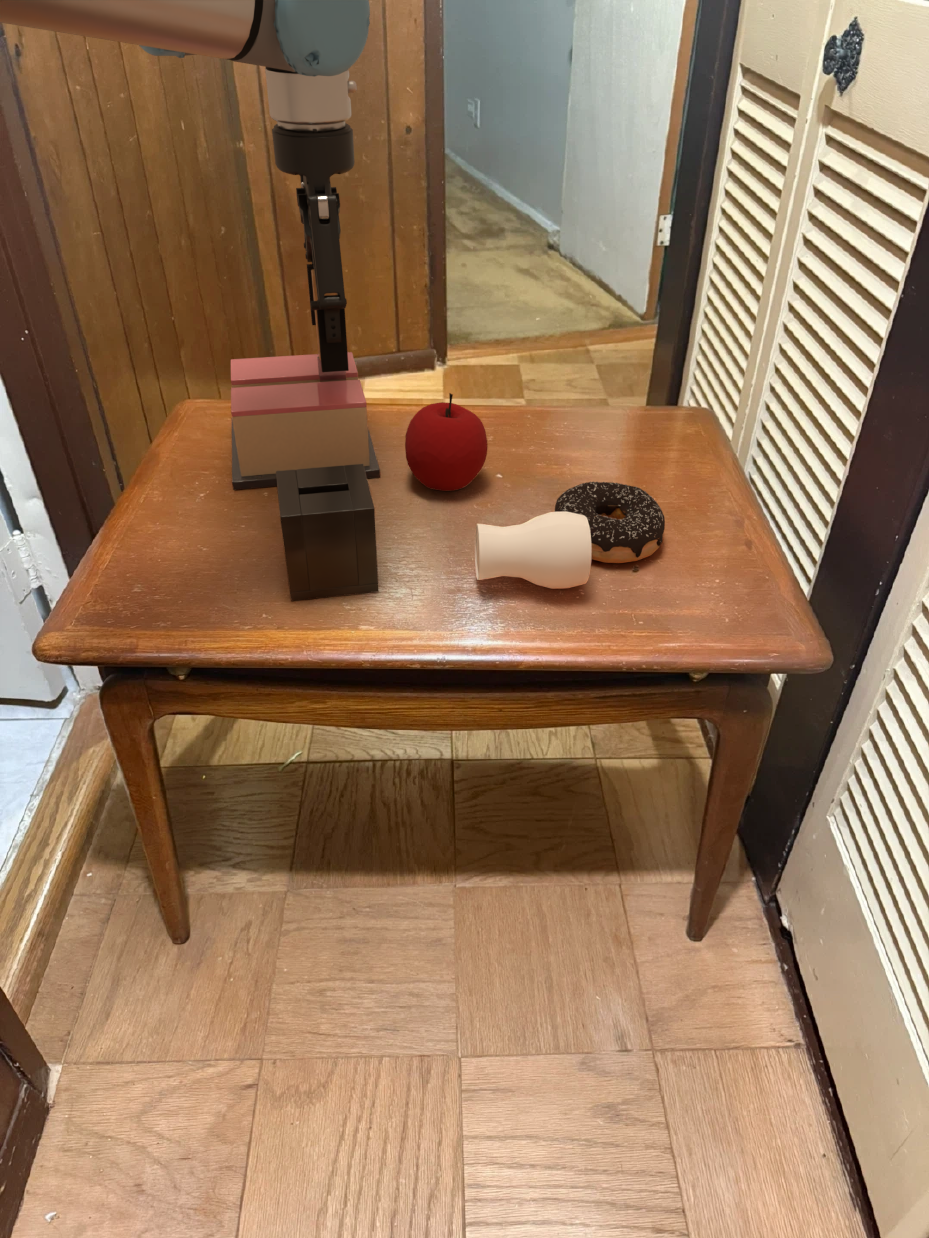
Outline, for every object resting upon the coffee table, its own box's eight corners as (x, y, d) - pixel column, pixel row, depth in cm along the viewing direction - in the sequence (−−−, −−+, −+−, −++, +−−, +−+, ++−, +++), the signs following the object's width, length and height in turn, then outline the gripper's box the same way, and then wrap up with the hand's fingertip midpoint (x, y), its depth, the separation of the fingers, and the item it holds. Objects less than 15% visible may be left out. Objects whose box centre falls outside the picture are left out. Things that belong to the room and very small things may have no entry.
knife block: (291, 601, 78) (279, 516, 73) (286, 552, 84) (275, 470, 79) (378, 591, 80) (374, 508, 74) (368, 544, 86) (363, 463, 80)
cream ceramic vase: (478, 606, 78) (586, 603, 79) (480, 541, 74) (595, 538, 75) (472, 561, 84) (573, 559, 85) (474, 498, 80) (581, 496, 80)
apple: (390, 472, 97) (387, 388, 91) (460, 454, 101) (462, 372, 95) (428, 510, 91) (428, 423, 85) (501, 490, 95) (506, 405, 88)
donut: (629, 500, 94) (634, 467, 91) (684, 560, 85) (691, 525, 82) (534, 515, 91) (537, 482, 88) (581, 579, 82) (586, 544, 80)
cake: (233, 490, 93) (220, 416, 88) (232, 424, 106) (221, 356, 100) (380, 477, 96) (377, 405, 91) (363, 415, 108) (359, 348, 103)
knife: (325, 444, 100) (310, 275, 88) (323, 436, 102) (309, 269, 90) (351, 442, 101) (340, 274, 89) (349, 434, 102) (338, 268, 90)
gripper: (368, 149, 72) (378, 390, 85) (339, 101, 91) (351, 305, 104) (277, 150, 71) (301, 395, 84) (266, 102, 90) (288, 308, 103)
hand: (329, 346), depth 94 cm, fingers open, 13 cm apart
